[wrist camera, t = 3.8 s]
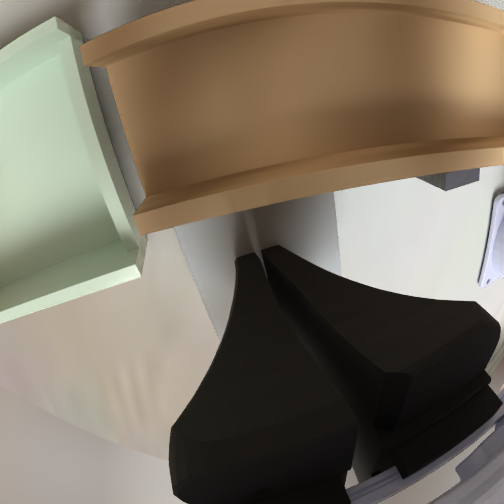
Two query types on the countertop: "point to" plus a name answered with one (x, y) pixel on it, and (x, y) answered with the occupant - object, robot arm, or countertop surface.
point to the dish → (58, 179)
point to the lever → (295, 116)
